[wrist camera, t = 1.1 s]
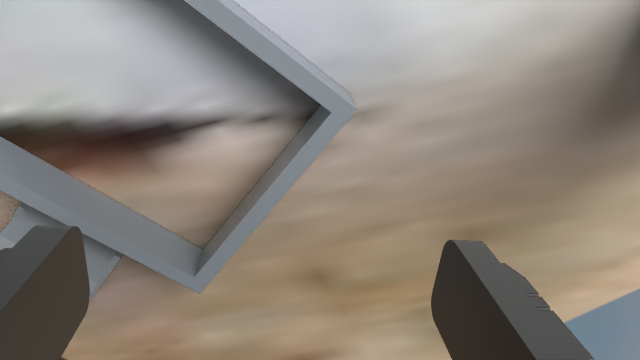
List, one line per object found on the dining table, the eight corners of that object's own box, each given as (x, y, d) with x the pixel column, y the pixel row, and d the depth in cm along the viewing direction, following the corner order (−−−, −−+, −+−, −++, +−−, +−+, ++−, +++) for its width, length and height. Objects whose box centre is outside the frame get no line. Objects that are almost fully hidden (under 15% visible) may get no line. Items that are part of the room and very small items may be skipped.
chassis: (90, -114, 21) (48, -127, 17) (350, 93, 26) (360, 115, 23) (-75, 225, 29) (-126, 263, 25) (152, 331, 34) (136, 374, 31)
